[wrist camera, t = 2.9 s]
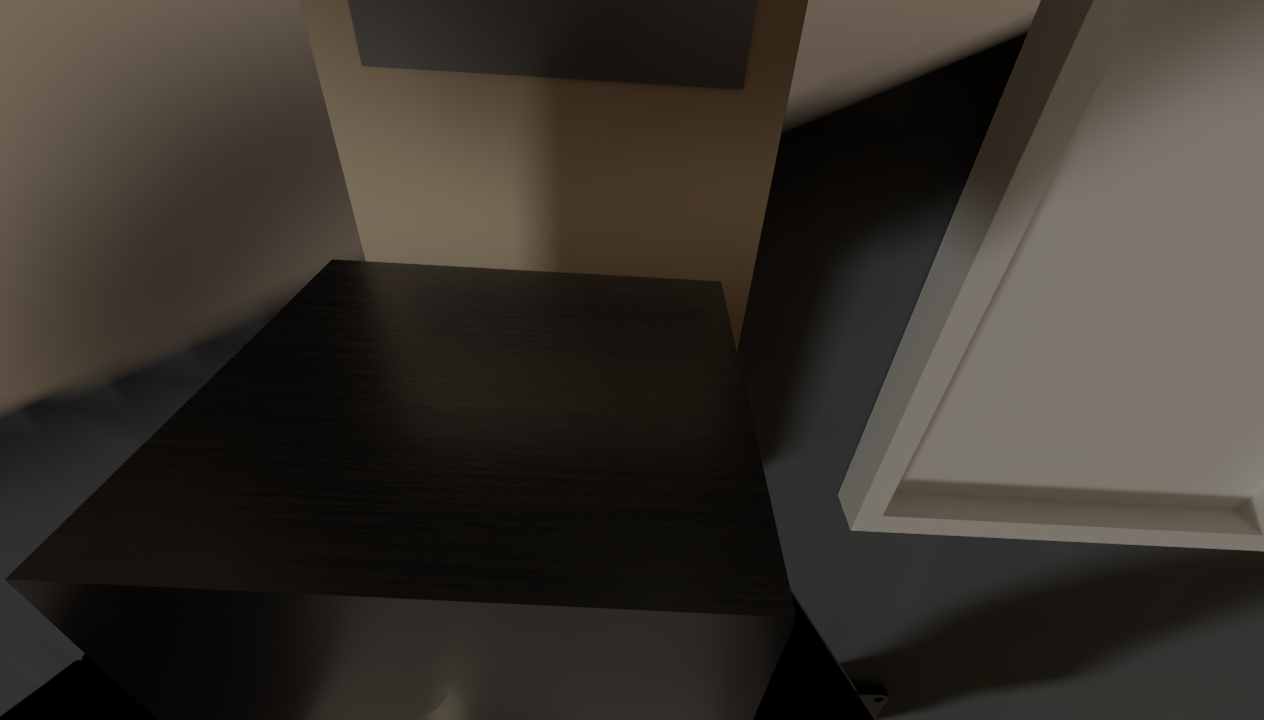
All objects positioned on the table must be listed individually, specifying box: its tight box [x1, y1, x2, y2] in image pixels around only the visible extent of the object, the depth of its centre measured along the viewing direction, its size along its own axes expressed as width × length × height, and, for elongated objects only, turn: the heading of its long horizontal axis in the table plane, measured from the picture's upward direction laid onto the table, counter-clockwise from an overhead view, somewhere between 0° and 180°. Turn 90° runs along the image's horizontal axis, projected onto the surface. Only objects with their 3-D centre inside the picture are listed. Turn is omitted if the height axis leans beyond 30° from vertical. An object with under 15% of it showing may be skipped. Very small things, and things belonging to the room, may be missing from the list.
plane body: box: [299, 0, 808, 350], centre depth 13 cm, size 18×7×4 cm, turn 177°
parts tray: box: [838, 0, 1264, 551], centre depth 14 cm, size 16×14×2 cm
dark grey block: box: [5, 259, 797, 720], centre depth 7 cm, size 7×5×5 cm
